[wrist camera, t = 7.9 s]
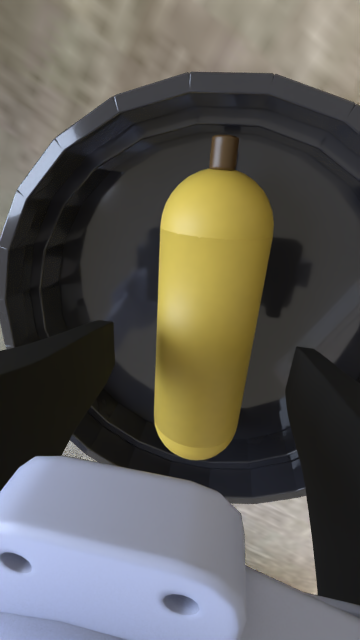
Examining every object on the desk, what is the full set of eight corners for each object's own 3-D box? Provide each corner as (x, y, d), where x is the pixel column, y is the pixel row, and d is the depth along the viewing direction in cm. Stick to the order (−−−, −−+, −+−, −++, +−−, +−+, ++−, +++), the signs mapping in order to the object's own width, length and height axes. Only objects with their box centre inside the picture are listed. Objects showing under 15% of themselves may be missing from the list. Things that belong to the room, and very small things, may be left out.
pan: (342, 470, 18) (367, 536, 15) (64, 418, 20) (29, 465, 17) (490, 113, 11) (610, 79, 7) (23, 97, 13) (-54, 66, 10)
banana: (232, 423, 18) (231, 488, 14) (162, 411, 18) (143, 471, 14) (281, 148, 12) (303, 129, 8) (175, 142, 12) (149, 123, 8)
